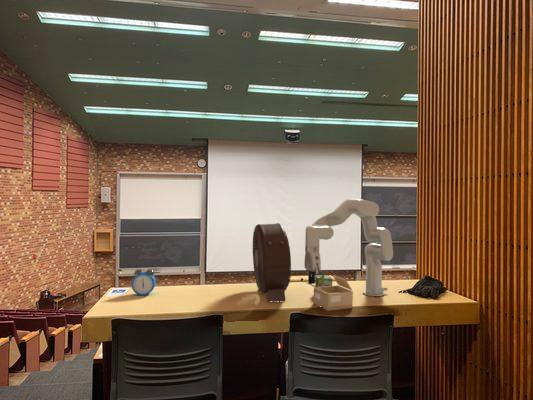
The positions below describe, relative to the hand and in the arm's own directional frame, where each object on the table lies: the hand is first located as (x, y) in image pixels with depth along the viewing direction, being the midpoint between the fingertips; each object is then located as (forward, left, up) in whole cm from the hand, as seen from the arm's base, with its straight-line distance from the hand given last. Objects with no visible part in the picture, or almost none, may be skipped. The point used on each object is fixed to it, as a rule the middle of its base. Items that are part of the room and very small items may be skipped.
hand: (311, 283), depth 187 cm
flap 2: (-19, 0, -1) cm, 19 cm away
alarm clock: (+81, -57, -13) cm, 100 cm away
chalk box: (-20, -19, -14) cm, 30 cm away
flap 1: (-3, 0, -2) cm, 3 cm away
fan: (+10, -32, -13) cm, 36 cm away
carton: (-14, 0, -13) cm, 19 cm away
